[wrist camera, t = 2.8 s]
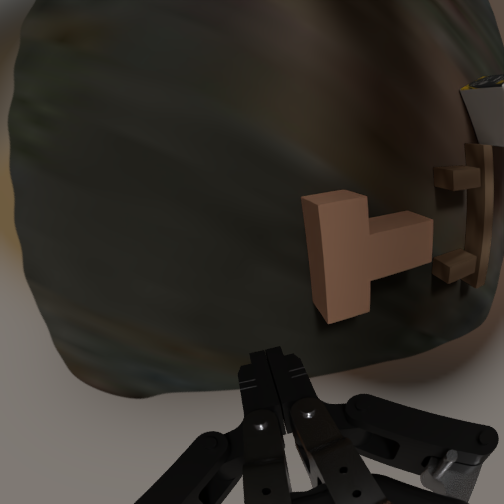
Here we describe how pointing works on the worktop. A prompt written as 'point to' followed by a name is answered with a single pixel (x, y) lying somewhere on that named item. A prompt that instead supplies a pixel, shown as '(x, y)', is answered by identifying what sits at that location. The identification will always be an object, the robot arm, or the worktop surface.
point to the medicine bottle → (486, 108)
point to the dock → (469, 216)
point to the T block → (358, 249)
